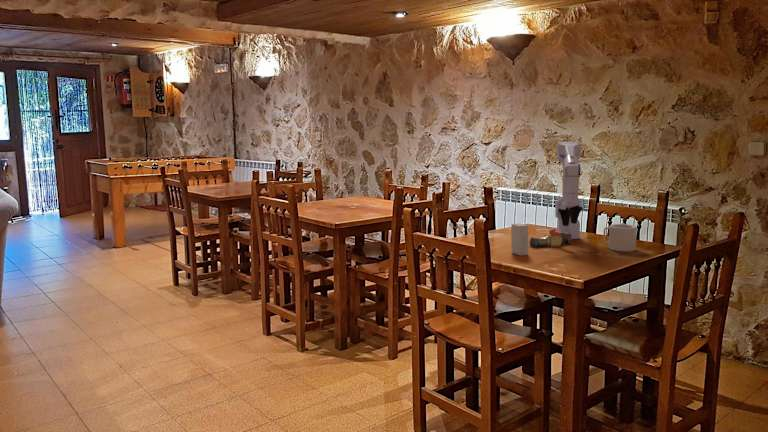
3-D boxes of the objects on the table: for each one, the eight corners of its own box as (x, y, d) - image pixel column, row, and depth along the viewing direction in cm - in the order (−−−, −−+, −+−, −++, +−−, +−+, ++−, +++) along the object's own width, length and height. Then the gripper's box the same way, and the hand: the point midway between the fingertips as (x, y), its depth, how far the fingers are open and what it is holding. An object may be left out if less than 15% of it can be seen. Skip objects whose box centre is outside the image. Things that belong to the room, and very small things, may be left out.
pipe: (563, 243, 271) (564, 233, 270) (570, 245, 266) (571, 235, 265) (529, 247, 264) (529, 236, 263) (536, 249, 260) (536, 238, 259)
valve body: (555, 244, 269) (555, 233, 268) (562, 246, 264) (562, 235, 264) (541, 245, 266) (542, 234, 266) (549, 247, 262) (549, 236, 261)
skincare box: (528, 254, 247) (529, 225, 245) (519, 256, 245) (520, 226, 243) (519, 251, 252) (519, 223, 250) (510, 252, 250) (511, 223, 249)
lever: (547, 233, 265) (548, 229, 265) (553, 233, 266) (553, 228, 266) (566, 238, 254) (566, 234, 254) (571, 238, 255) (572, 233, 255)
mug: (639, 249, 257) (641, 225, 255) (629, 253, 249) (631, 229, 248) (608, 244, 266) (609, 222, 264) (597, 248, 258) (598, 225, 257)
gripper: (570, 190, 265) (568, 221, 267) (554, 193, 254) (552, 225, 256) (585, 191, 260) (584, 223, 262) (570, 194, 249) (568, 227, 251)
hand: (569, 224), depth 259 cm, fingers open, 7 cm apart
